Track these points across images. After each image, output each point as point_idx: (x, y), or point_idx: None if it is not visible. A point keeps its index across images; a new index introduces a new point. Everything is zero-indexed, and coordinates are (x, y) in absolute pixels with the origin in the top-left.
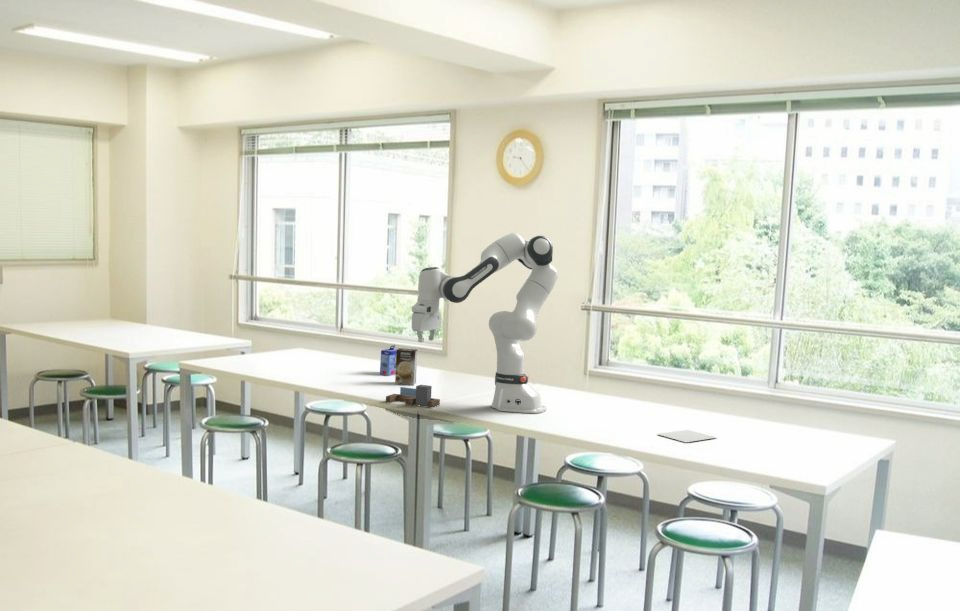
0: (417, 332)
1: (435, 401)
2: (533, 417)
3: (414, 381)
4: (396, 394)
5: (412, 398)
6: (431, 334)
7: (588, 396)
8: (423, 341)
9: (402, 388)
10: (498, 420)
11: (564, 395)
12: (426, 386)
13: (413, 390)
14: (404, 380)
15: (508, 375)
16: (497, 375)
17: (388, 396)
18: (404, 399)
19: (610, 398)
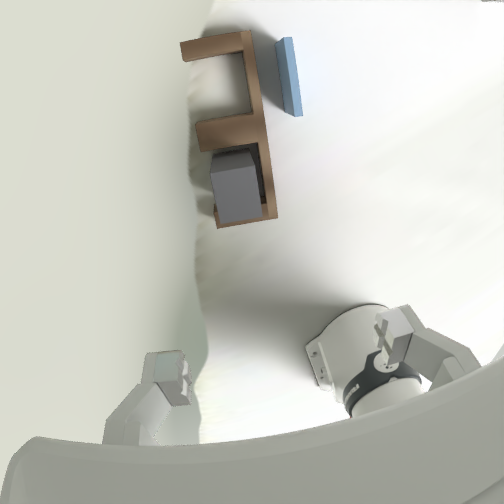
0: (107, 433)
1: (241, 223)
2: (289, 396)
3: (494, 1)
4: (243, 45)
5: (217, 140)
6: (422, 352)
7: (493, 345)
8: (189, 376)
9: (284, 47)
10: (216, 380)
11: (496, 323)
12: (234, 210)
13: (290, 97)
14: None
15: (349, 414)
16: (359, 391)
17: (183, 51)
18: (247, 81)
19: (483, 365)
